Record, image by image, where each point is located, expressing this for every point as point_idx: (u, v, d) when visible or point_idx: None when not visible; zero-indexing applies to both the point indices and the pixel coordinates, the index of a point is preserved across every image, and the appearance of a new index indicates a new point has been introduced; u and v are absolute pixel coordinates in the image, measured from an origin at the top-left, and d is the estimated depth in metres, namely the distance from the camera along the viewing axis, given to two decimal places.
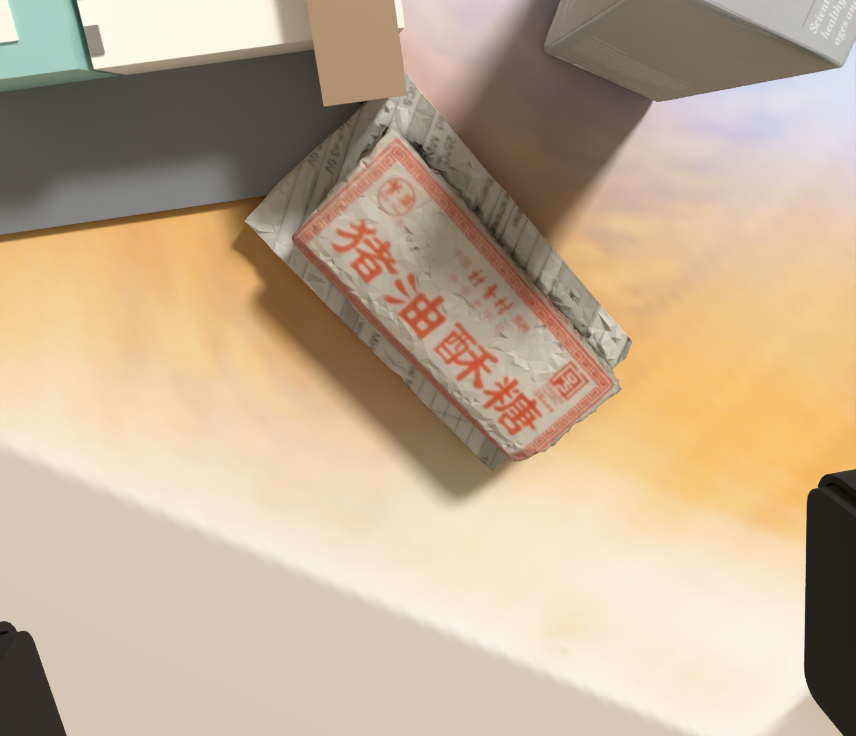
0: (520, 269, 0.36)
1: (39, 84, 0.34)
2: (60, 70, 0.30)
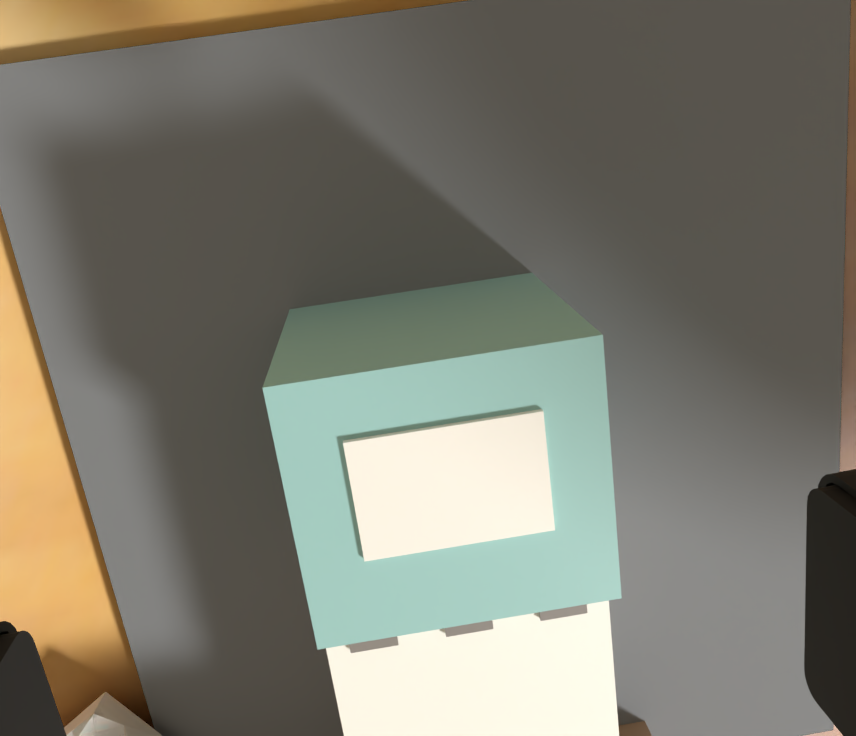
0: None
1: None
2: (313, 620, 0.15)
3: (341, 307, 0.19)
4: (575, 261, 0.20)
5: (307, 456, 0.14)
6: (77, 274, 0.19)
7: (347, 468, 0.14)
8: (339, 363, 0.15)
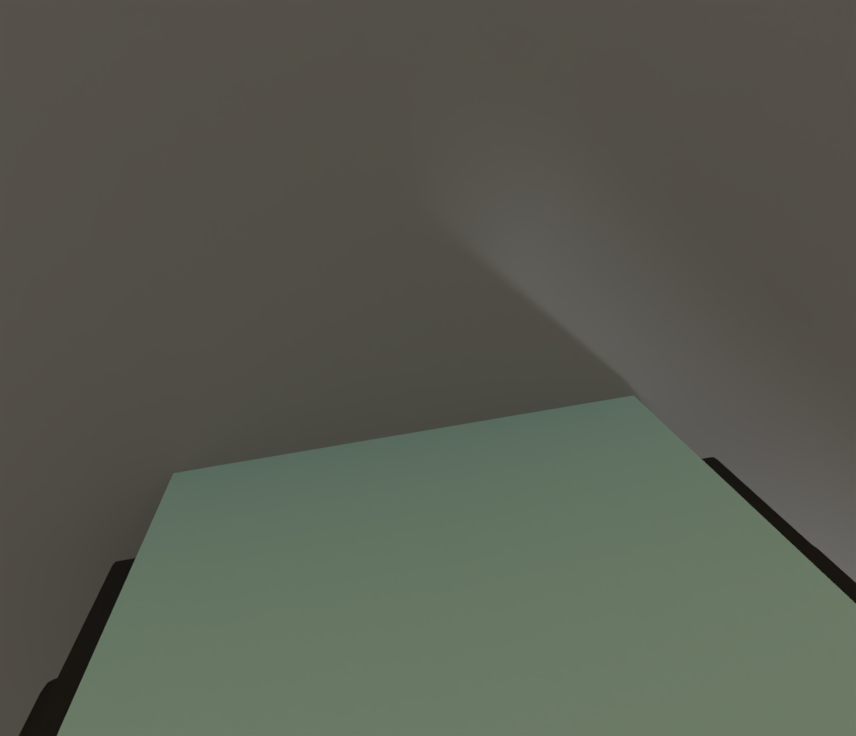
0: None
1: None
2: None
3: (271, 478, 0.10)
4: (714, 373, 0.11)
5: None
6: None
7: None
8: None
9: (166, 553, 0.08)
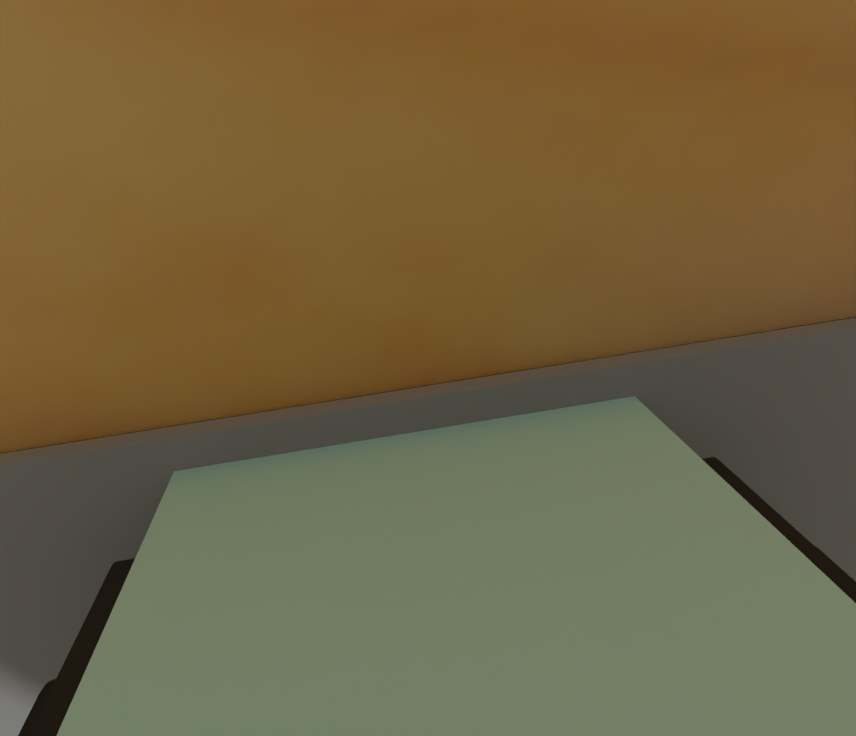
0: None
1: None
2: None
3: (271, 477, 0.10)
4: None
5: None
6: None
7: None
8: None
9: (167, 551, 0.08)
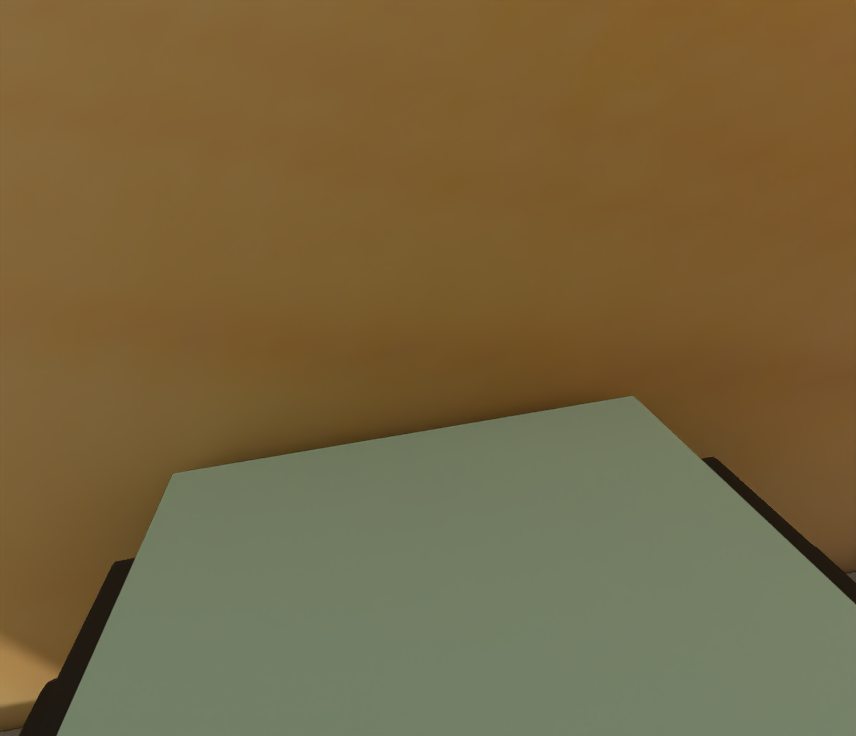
0: None
1: None
2: None
3: (270, 478, 0.10)
4: None
5: None
6: None
7: None
8: None
9: (165, 553, 0.08)
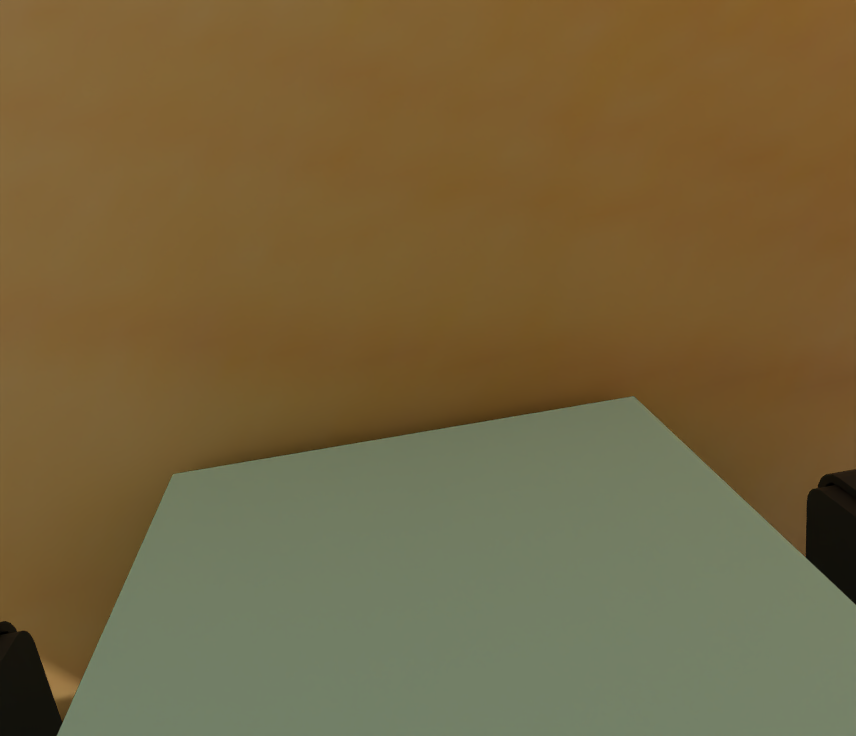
0: None
1: None
2: None
3: (270, 479, 0.10)
4: None
5: None
6: None
7: None
8: None
9: (165, 554, 0.08)
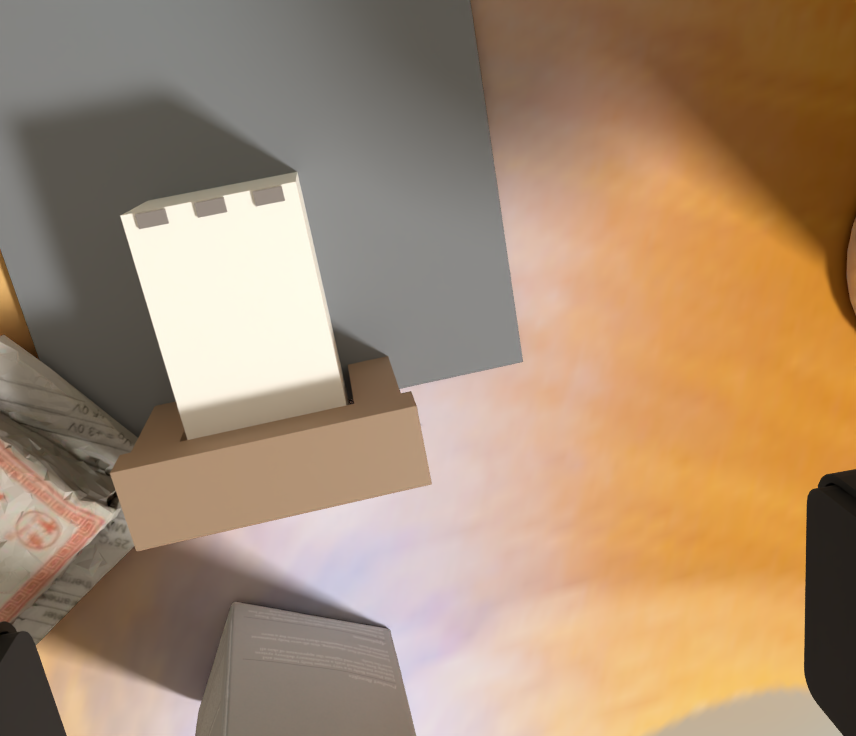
0: None
1: None
2: None
3: None
4: (291, 11, 0.31)
5: None
6: None
7: None
8: None
9: None
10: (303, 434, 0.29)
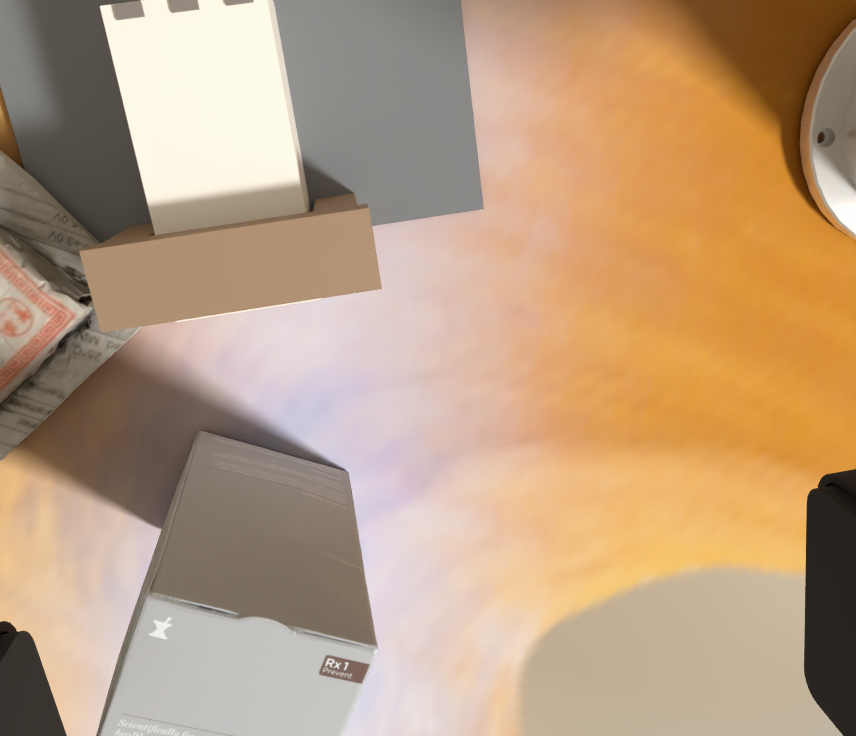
0: None
1: None
2: None
3: None
4: None
5: None
6: None
7: None
8: None
9: None
10: (261, 227, 0.31)
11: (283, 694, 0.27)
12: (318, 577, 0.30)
